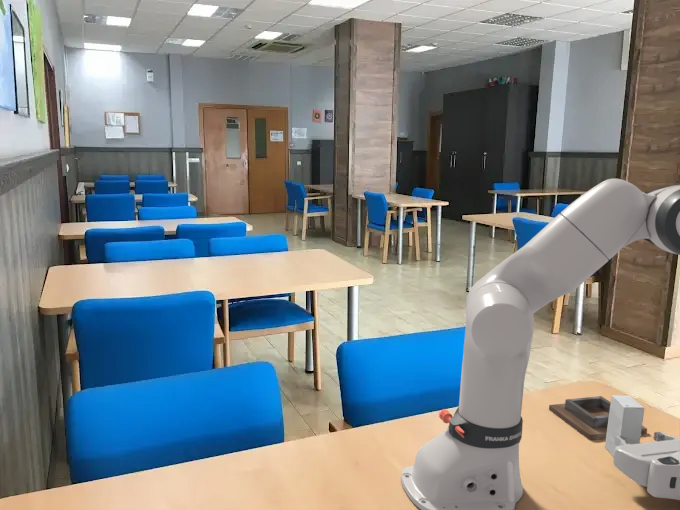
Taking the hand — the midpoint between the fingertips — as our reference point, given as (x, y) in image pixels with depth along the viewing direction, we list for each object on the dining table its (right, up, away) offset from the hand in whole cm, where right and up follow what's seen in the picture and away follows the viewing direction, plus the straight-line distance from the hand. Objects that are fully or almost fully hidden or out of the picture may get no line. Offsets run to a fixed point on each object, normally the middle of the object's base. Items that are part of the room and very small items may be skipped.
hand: (637, 437), depth 114 cm
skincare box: (-1, -5, +5) cm, 7 cm away
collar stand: (0, -2, +19) cm, 19 cm away
